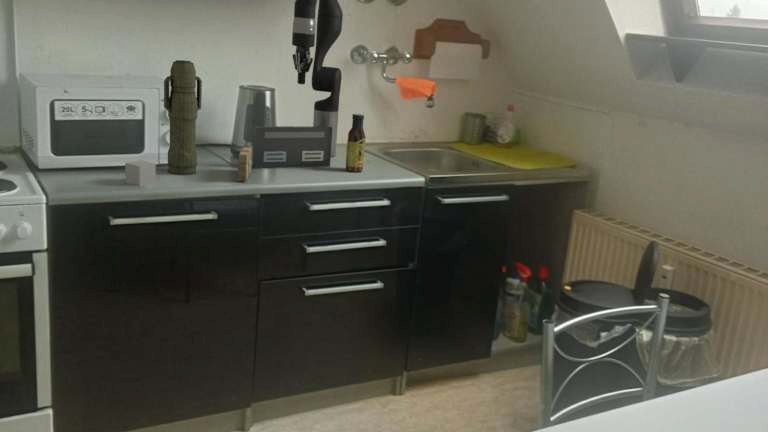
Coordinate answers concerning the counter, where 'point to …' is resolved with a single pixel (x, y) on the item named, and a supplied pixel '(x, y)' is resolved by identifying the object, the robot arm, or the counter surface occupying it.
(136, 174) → the light grey cube
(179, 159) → the thermos
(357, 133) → the sauce bottle
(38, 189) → the counter surface
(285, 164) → the panel
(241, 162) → the wooden block
